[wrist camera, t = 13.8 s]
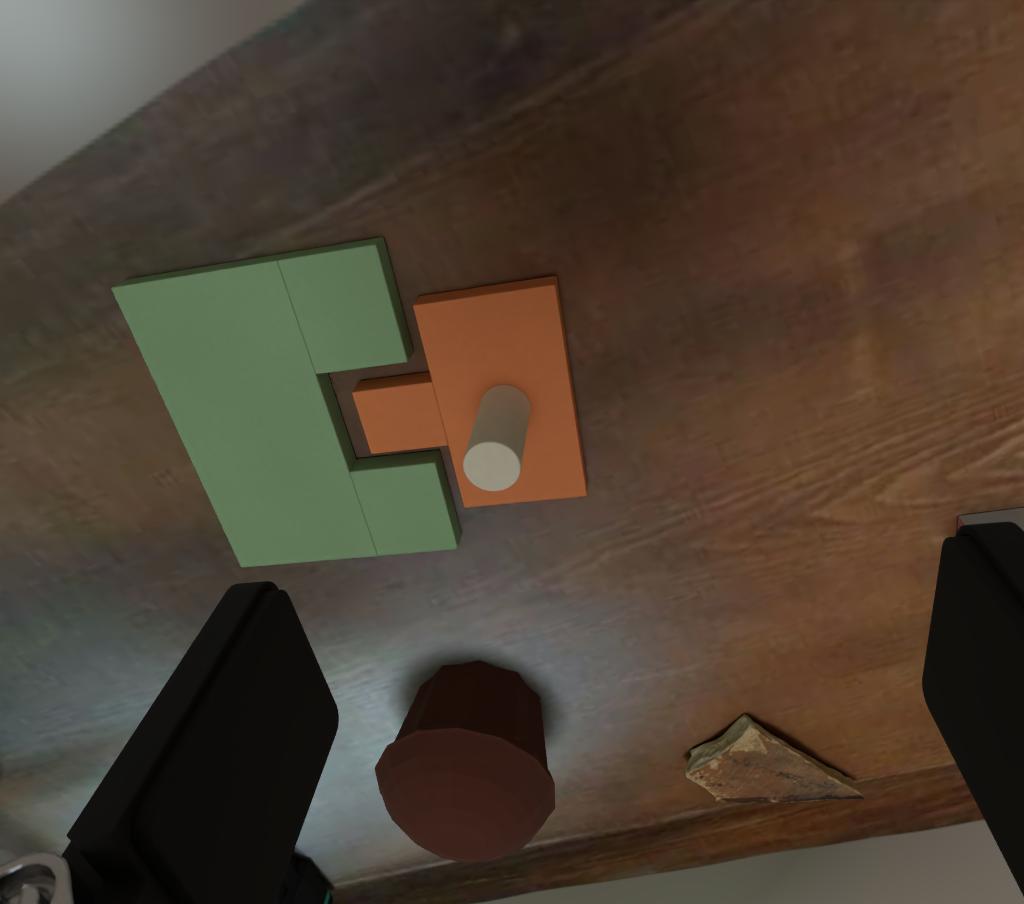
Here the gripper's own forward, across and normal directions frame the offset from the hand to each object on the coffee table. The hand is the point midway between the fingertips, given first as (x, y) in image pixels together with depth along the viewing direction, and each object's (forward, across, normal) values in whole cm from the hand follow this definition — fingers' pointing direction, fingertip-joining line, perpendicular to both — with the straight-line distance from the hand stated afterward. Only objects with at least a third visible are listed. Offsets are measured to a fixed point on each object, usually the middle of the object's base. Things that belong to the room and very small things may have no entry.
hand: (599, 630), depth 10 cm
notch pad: (+26, +17, +8) cm, 32 cm away
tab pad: (+26, +8, +8) cm, 29 cm away
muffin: (+26, +12, +32) cm, 43 cm away
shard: (+26, -8, +38) cm, 47 cm away
